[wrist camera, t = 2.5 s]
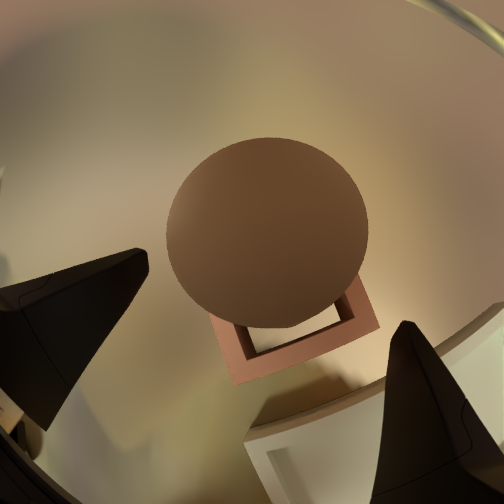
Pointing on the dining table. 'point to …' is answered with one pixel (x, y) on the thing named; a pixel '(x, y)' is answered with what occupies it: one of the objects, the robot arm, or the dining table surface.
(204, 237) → the dowel
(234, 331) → the square frame
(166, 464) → the dining table surface
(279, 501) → the tray
